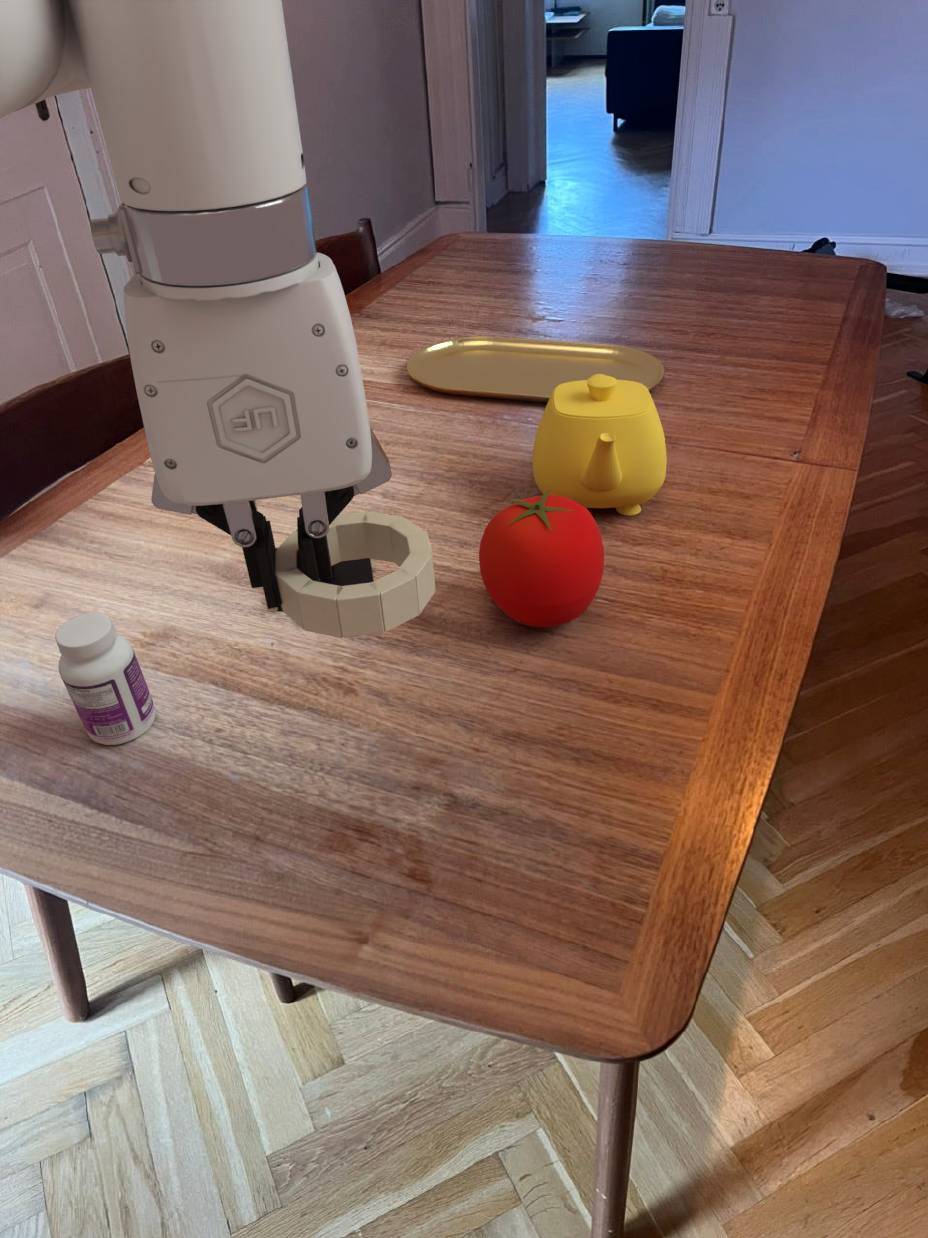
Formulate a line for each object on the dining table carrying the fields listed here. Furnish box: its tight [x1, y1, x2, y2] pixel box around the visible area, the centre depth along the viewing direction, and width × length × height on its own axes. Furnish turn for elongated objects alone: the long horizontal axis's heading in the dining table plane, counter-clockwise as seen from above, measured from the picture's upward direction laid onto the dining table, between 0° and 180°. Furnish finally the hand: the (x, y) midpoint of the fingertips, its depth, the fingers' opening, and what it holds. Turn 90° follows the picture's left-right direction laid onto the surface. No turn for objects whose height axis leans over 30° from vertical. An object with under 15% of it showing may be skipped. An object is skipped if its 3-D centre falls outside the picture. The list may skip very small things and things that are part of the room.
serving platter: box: [406, 335, 665, 403], centre depth 119 cm, size 19×35×2 cm, turn 71°
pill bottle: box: [54, 612, 157, 746], centre depth 67 cm, size 5×5×10 cm
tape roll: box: [275, 510, 436, 639], centre depth 48 cm, size 8×8×2 cm
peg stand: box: [275, 547, 375, 612], centre depth 82 cm, size 9×9×7 cm
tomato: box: [478, 490, 605, 628], centre depth 75 cm, size 10×11×11 cm
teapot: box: [531, 374, 668, 516], centre depth 89 cm, size 14×20×13 cm
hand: (294, 589), depth 49 cm, fingers closed on tape roll, 1 cm apart
